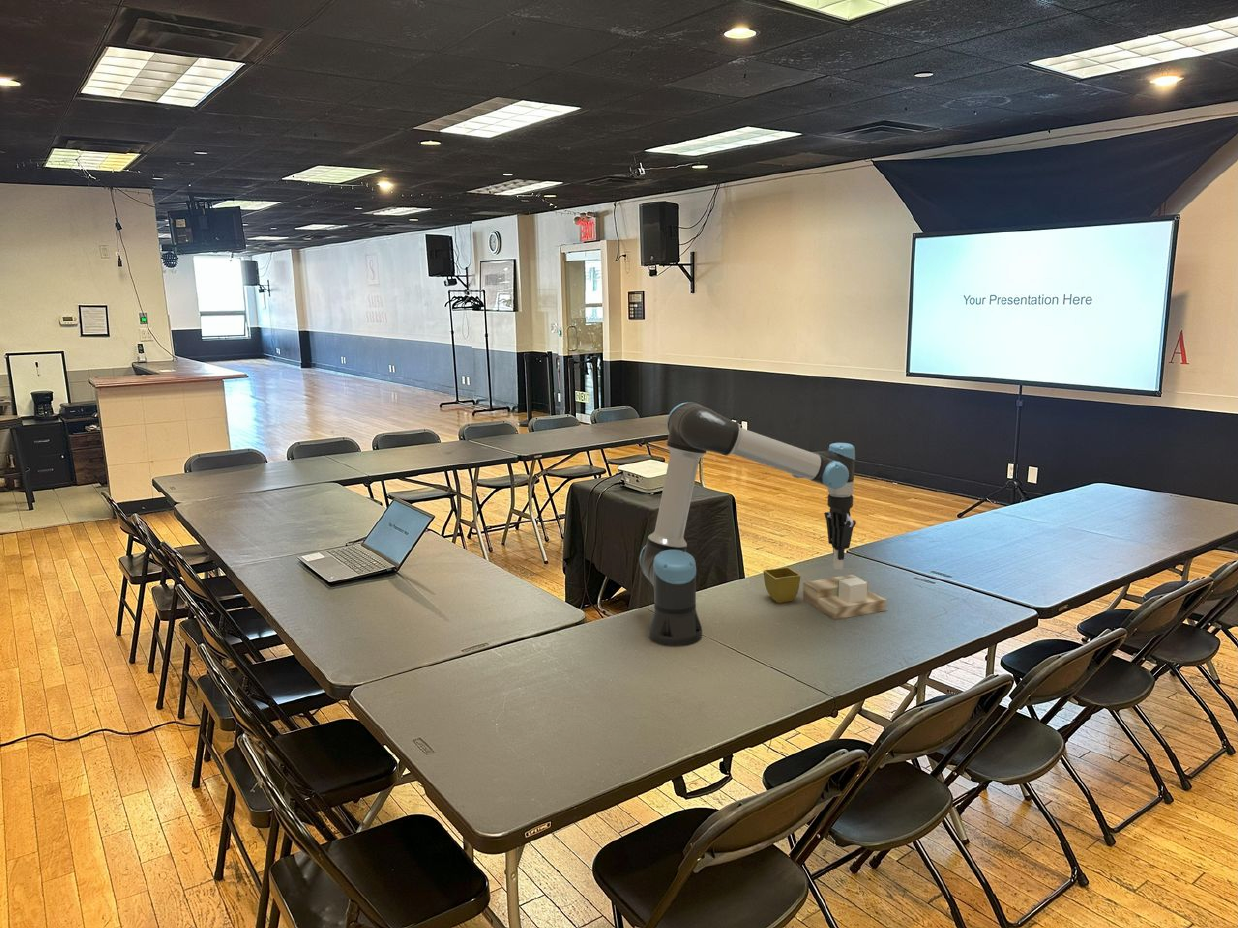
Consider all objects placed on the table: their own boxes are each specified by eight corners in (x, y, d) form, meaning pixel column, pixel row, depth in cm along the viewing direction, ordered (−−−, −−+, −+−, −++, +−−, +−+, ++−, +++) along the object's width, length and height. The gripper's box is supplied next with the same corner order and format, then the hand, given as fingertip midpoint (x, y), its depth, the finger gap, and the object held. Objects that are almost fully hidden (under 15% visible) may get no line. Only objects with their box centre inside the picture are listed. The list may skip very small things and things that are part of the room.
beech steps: (834, 619, 234) (835, 599, 233) (803, 600, 250) (803, 581, 249) (885, 610, 240) (886, 591, 239) (851, 592, 256) (852, 574, 255)
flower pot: (774, 606, 245) (775, 578, 244) (762, 596, 254) (762, 569, 252) (800, 603, 248) (801, 575, 246) (787, 593, 256) (788, 566, 254)
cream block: (837, 596, 243) (849, 603, 237) (838, 579, 242) (850, 585, 236) (854, 594, 245) (866, 600, 239) (854, 576, 244) (867, 582, 238)
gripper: (864, 497, 237) (861, 573, 241) (838, 488, 249) (835, 561, 253) (842, 500, 234) (840, 576, 239) (817, 490, 247) (815, 564, 251)
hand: (838, 568), depth 246 cm, fingers closed
